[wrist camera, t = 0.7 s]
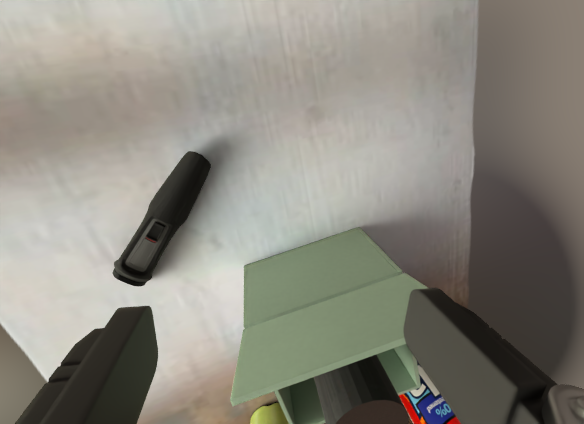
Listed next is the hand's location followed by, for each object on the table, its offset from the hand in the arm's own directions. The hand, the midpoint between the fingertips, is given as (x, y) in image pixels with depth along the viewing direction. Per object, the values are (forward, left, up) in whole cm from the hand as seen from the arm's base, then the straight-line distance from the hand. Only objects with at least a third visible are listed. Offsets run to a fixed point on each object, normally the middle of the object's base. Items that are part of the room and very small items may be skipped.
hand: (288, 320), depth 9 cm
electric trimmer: (+1, -10, -21) cm, 24 cm away
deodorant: (+17, +2, -21) cm, 27 cm away
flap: (+8, +2, -7) cm, 11 cm away
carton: (+17, +2, -21) cm, 27 cm away
